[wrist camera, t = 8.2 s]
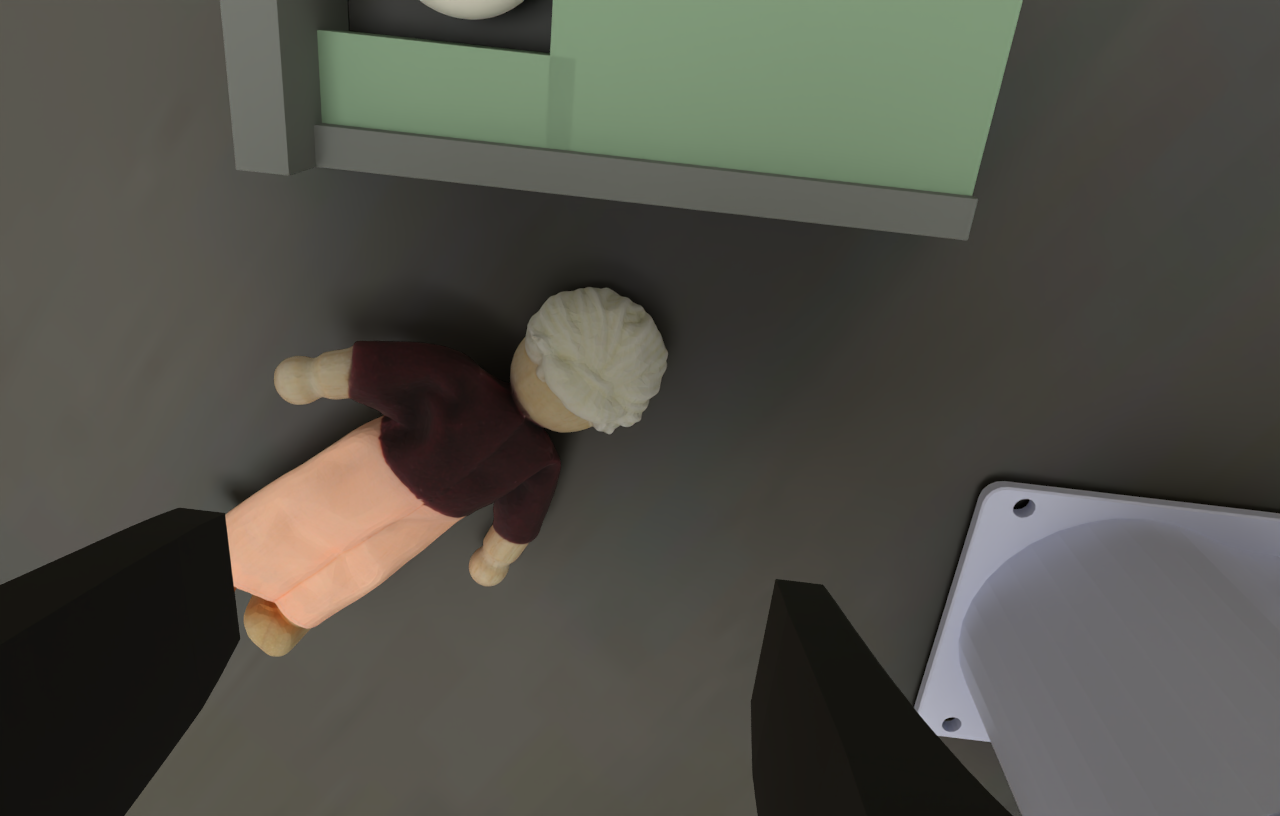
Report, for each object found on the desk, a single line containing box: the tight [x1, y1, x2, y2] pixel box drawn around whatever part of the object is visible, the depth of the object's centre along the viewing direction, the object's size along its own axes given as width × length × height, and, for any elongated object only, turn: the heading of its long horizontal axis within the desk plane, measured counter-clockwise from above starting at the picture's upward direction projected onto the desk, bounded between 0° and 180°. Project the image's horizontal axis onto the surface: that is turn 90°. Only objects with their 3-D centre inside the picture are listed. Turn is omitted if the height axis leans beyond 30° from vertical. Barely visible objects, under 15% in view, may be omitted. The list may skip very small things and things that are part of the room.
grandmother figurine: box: [225, 287, 668, 656], centre depth 20 cm, size 8×4×13 cm
